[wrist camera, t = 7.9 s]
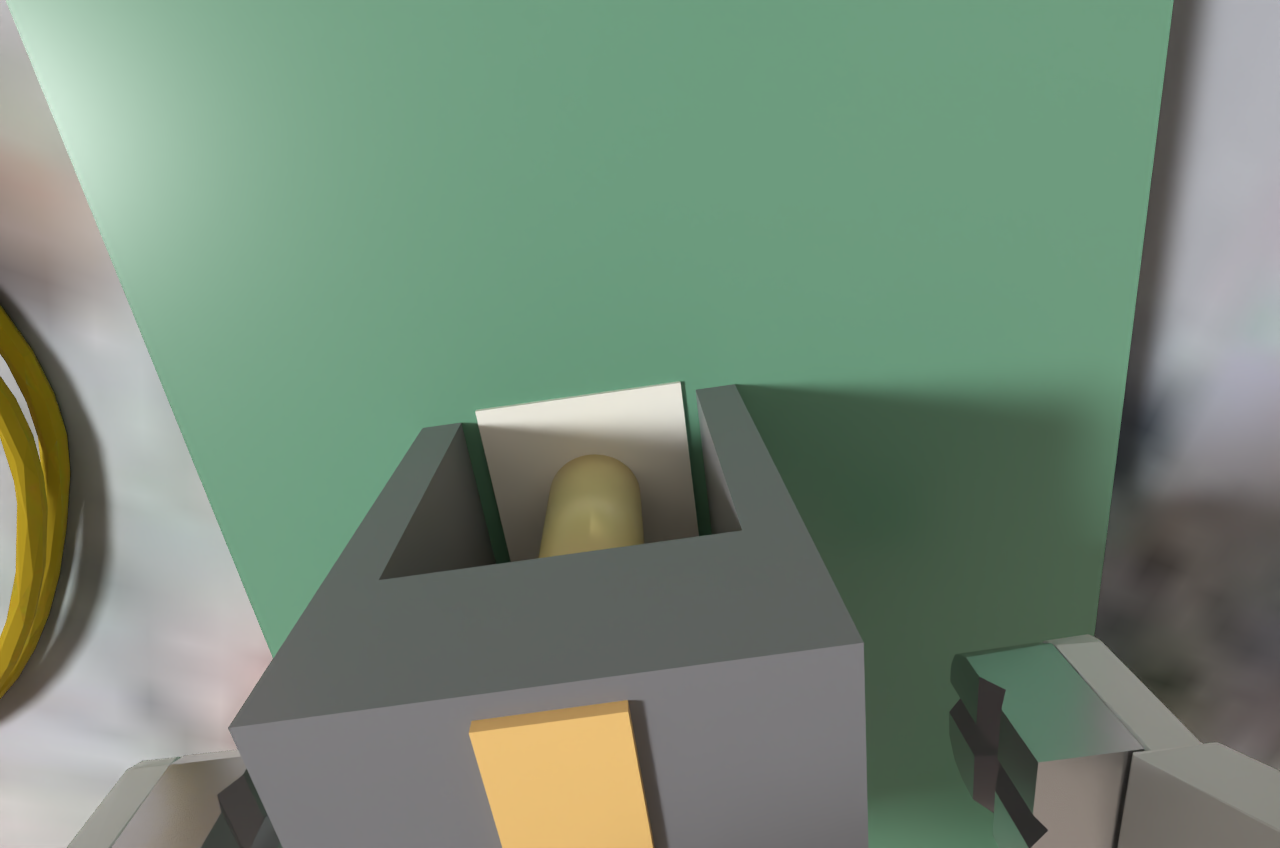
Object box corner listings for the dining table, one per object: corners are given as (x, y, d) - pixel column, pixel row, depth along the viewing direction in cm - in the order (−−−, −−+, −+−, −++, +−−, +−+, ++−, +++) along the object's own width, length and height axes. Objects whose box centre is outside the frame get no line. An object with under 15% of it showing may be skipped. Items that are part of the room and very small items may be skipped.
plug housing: (423, 427, 9) (219, 740, 4) (735, 383, 9) (868, 652, 4) (528, 820, 12) (472, 1281, 7) (771, 788, 12) (880, 1232, 7)
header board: (12, -226, 8) (-681, -646, 4) (1123, -399, 8) (1749, -1055, 3) (410, 861, 14) (325, 1167, 10) (1021, 782, 14) (1196, 1059, 10)
